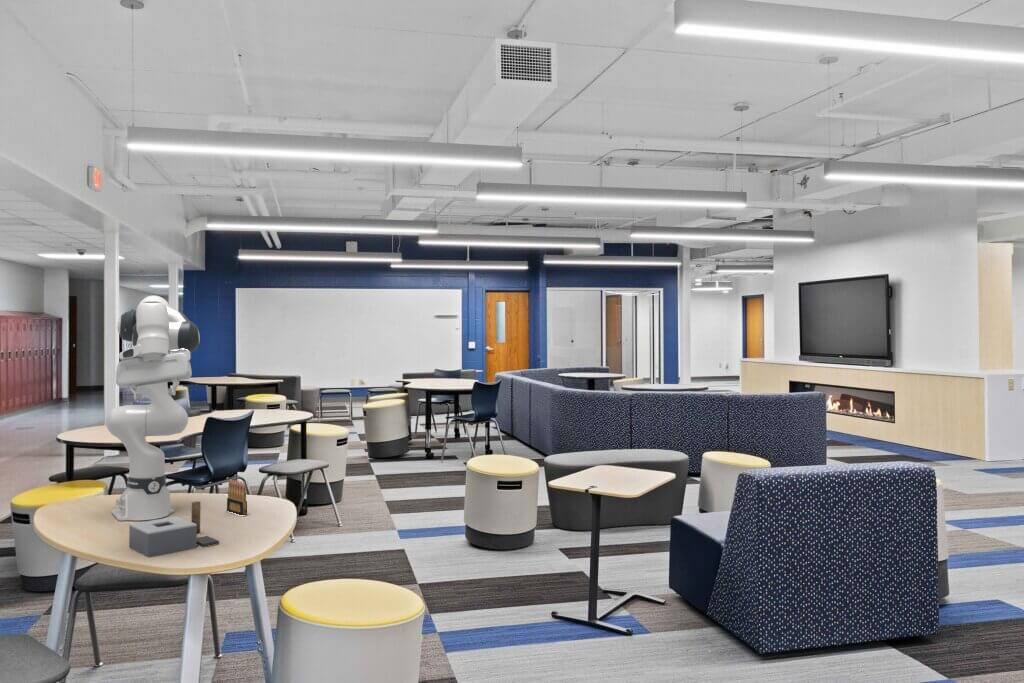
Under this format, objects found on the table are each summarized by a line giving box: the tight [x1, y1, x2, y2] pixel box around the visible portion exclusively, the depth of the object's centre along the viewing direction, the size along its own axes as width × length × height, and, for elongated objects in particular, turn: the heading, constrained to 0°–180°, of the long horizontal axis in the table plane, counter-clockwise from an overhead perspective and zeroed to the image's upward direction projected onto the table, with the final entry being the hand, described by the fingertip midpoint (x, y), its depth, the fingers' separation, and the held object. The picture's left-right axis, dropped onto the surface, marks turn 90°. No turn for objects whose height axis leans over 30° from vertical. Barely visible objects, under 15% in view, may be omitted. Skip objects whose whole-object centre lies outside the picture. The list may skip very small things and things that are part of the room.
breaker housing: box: [128, 516, 198, 558], centre depth 224 cm, size 14×14×7 cm
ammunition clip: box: [226, 478, 248, 516], centre depth 267 cm, size 11×2×12 cm, turn 50°
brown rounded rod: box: [191, 501, 201, 535], centre depth 240 cm, size 3×3×10 cm
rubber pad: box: [196, 535, 220, 548], centre depth 229 cm, size 8×5×1 cm, turn 47°
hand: (155, 397), depth 215 cm, fingers open, 8 cm apart
